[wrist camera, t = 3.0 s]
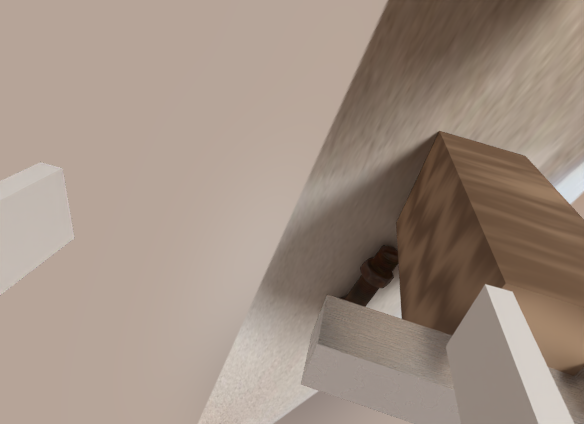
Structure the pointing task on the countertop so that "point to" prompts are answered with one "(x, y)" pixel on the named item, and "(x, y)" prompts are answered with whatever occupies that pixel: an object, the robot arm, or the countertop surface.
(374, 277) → the bolt
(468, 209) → the wooden block
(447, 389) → the steel block
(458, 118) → the countertop surface
